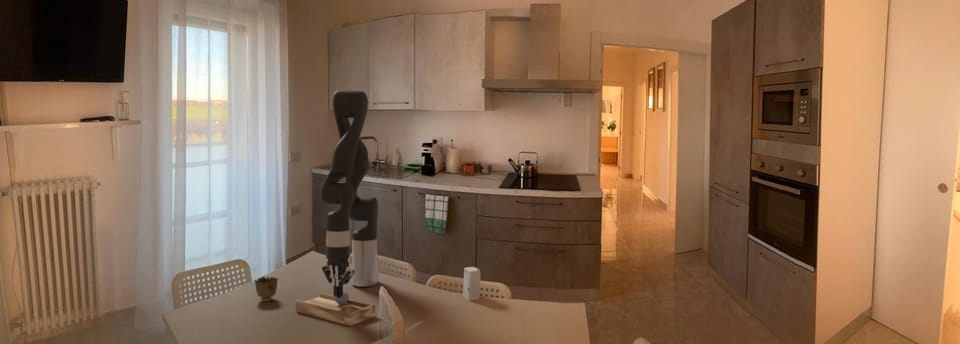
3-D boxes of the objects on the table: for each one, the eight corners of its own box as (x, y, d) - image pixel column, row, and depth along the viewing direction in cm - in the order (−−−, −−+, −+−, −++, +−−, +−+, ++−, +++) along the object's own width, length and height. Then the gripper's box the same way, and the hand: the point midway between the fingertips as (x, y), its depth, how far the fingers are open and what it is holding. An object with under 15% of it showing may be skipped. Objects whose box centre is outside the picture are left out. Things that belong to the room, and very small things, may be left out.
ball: (349, 305, 181) (340, 309, 178) (339, 297, 183) (330, 301, 179) (353, 294, 180) (344, 298, 176) (344, 287, 182) (334, 290, 178)
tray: (321, 303, 189) (321, 292, 189) (375, 316, 176) (375, 305, 176) (295, 311, 180) (295, 300, 180) (350, 326, 167) (350, 314, 166)
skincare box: (462, 300, 194) (462, 267, 194) (473, 299, 196) (474, 266, 195) (468, 305, 189) (469, 271, 188) (480, 304, 190) (481, 270, 190)
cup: (269, 305, 186) (269, 282, 186) (250, 303, 187) (250, 280, 187) (282, 299, 193) (281, 277, 193) (263, 297, 195) (263, 275, 194)
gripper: (361, 244, 176) (361, 297, 177) (332, 240, 183) (332, 290, 183) (344, 248, 169) (344, 302, 170) (314, 243, 176) (314, 296, 177)
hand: (338, 296), depth 177 cm, fingers closed
